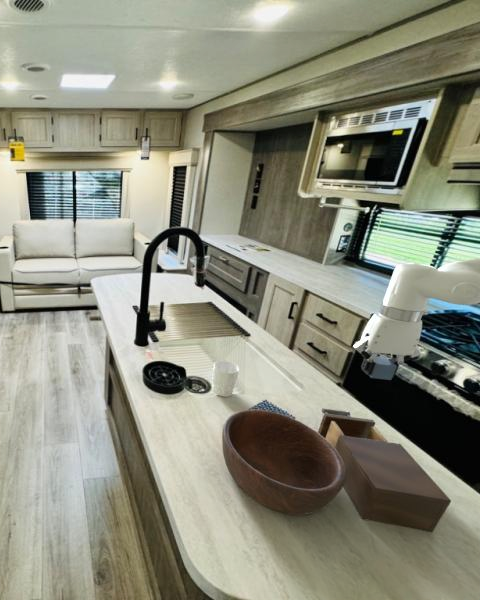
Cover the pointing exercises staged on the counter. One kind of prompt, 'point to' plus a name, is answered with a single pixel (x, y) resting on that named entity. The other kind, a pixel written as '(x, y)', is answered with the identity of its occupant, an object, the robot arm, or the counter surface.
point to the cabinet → (390, 484)
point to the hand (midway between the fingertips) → (377, 372)
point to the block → (383, 368)
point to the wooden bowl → (281, 461)
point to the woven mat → (270, 408)
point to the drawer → (347, 427)
